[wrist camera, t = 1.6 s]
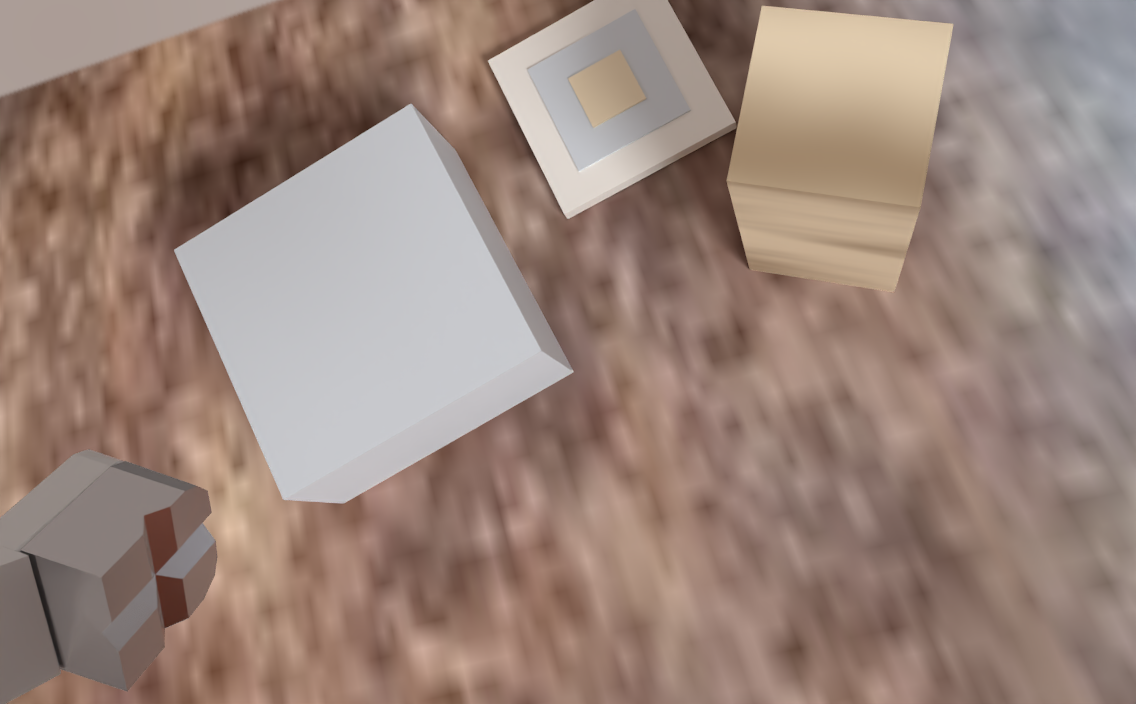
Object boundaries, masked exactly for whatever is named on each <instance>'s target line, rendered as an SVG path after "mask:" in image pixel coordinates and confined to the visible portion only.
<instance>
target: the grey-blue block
mask: <svg viewBox="0 0 1136 704" xmlns="http://www.w3.org/2000/svg"><path fill="white" fill-rule="evenodd" d="M174 252H175V254H176V256H177V258H178V261H179V263H180V265H181V268H182V270H183V272H184V274H185V277H186V279H187V281H188V283H189V286H190V288H191V290H192V293H193V295H194V297H195V299H196V302H197V304H198V306H199V309H200V311H201V313H202V315H203V318H204V320H205V322H206V324H207V327H208V329H209V331H210V334H211V336H212V338H213V340H214V343H215V345H216V347H217V350H218V352H219V354H220V356H221V359H222V361H223V363H224V365H225V368H226V370H227V372H228V375H229V377H230V379H231V381H232V384H233V386H234V388H235V391H236V393H237V395H238V397H239V400H240V402H241V404H242V406H243V409H244V411H245V413H246V416H247V418H248V420H249V422H250V425H251V427H252V429H253V432H254V434H255V436H256V438H257V441H258V443H259V445H260V447H261V450H262V452H263V454H264V457H265V459H266V461H267V463H268V466H269V468H270V470H271V473H272V475H273V477H274V479H275V482H276V484H277V486H278V488H279V491H280V493H281V495H282V498H283V500H296V501H312V502H328V503H345V502H347V501H349V500H351V499H352V498H354V497H356V496H358V495H359V494H361V493H363V492H365V491H366V490H368V489H370V488H372V487H373V486H375V485H377V484H379V483H380V482H382V481H384V480H386V479H387V478H389V477H391V476H393V475H394V474H396V473H398V472H400V471H401V470H403V469H405V468H407V467H408V466H410V465H412V464H414V463H415V462H417V461H419V460H421V459H422V458H424V457H426V456H428V455H429V454H431V453H433V452H435V451H436V450H438V449H440V448H442V447H443V446H445V445H447V444H449V443H450V442H452V441H454V440H456V439H457V438H459V437H461V436H463V435H464V434H466V433H468V432H470V431H471V430H473V429H475V428H477V427H478V426H480V425H482V424H484V423H485V422H487V421H489V420H491V419H492V418H494V417H496V416H498V415H499V414H501V413H503V412H505V411H506V410H508V409H510V408H512V407H513V406H515V405H517V404H519V403H520V402H522V401H524V400H526V399H527V398H529V397H531V396H533V395H534V394H536V393H538V392H540V391H541V390H543V389H545V388H547V387H548V386H550V385H552V384H554V383H555V382H557V381H559V380H561V379H562V378H564V377H566V376H568V375H569V374H571V373H573V370H572V368H571V366H570V364H569V362H568V360H567V358H566V357H565V355H564V353H563V351H562V349H561V347H560V345H559V343H558V342H557V340H556V338H555V336H554V334H553V332H552V330H551V328H550V327H549V325H548V323H547V321H546V319H545V317H544V315H543V313H542V312H541V310H540V308H539V306H538V304H537V302H536V300H535V298H534V297H533V295H532V293H531V291H530V289H529V287H528V285H527V283H526V282H525V280H524V278H523V276H522V274H521V272H520V270H519V268H518V266H517V265H516V263H515V261H514V259H513V257H512V255H511V253H510V251H509V250H508V248H507V246H506V244H505V242H504V240H503V238H502V236H501V235H500V233H499V231H498V229H497V227H496V225H495V223H494V221H493V220H492V218H491V216H490V214H489V212H488V210H487V208H486V206H485V205H484V203H483V201H482V199H481V197H480V195H479V193H478V191H477V190H476V188H475V186H474V184H473V182H472V180H471V178H470V176H469V174H468V173H467V171H466V169H465V167H464V165H463V163H462V161H461V159H460V158H459V156H458V154H457V152H456V150H455V149H454V148H453V147H452V146H451V145H450V144H449V143H448V142H447V141H446V140H445V139H444V138H443V136H442V135H441V134H440V133H439V132H438V131H437V130H436V129H435V128H434V127H433V126H432V125H431V124H430V123H429V122H428V121H427V120H426V119H425V118H424V116H423V115H422V114H421V113H420V112H419V111H418V110H417V109H416V108H415V107H414V106H413V105H412V104H409V105H408V106H406V107H404V108H403V109H401V110H400V111H398V112H396V113H395V114H393V115H391V116H390V117H388V118H387V119H385V120H383V121H382V122H380V123H378V124H377V125H375V126H374V127H372V128H370V129H369V130H367V131H366V132H364V133H362V134H361V135H359V136H357V137H356V138H354V139H353V140H351V141H349V142H348V143H346V144H345V145H343V146H341V147H340V148H338V149H336V150H335V151H333V152H332V153H330V154H328V155H327V156H325V157H323V158H322V159H320V160H319V161H317V162H315V163H314V164H312V165H311V166H309V167H307V168H306V169H304V170H302V171H301V172H299V173H298V174H296V175H294V176H293V177H291V178H290V179H288V180H286V181H285V182H283V183H281V184H280V185H278V186H277V187H275V188H273V189H272V190H270V191H268V192H267V193H265V194H264V195H262V196H260V197H259V198H257V199H256V200H254V201H252V202H251V203H249V204H247V205H246V206H244V207H243V208H241V209H239V210H238V211H236V212H235V213H233V214H231V215H230V216H228V217H226V218H225V219H223V220H222V221H220V222H218V223H217V224H215V225H214V226H212V227H210V228H209V229H207V230H205V231H204V232H202V233H201V234H199V235H197V236H196V237H194V238H192V239H191V240H189V241H188V242H186V243H184V244H183V245H181V246H180V247H178V248H176V249H175V250H174Z"/></svg>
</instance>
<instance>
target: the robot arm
mask: <svg viewBox="0 0 1136 704" xmlns="http://www.w3.org/2000/svg"><path fill="white" fill-rule="evenodd" d="M211 513H212V512H211V506H210V501H209V496H208V491H207V490H205V489H202V488H200V487H198V486H195V485H193V484H190V483H187V482H184V481H181V480H178V479H175V478H172V477H170V476H167V475H164V474H161V473H158V472H155V471H152V470H149V469H147V468H144V467H141V466H138V465H135V464H132V463H129V462H126V461H122V460H119V459H116V458H113V457H111V456H108V455H105V454H102V453H99V452H96V451H93V450H90V449H88V450H85V451H82V452H79V453H76V454H74V455H72V456H71V457H70V458H69V459H68V460H66V461H65V462H64V463H63V464H62V465H61V466H59V467H58V468H57V469H56V470H55V471H54V472H53V473H51V474H50V475H49V476H48V477H47V478H46V479H44V480H43V481H42V482H41V483H40V484H39V485H37V486H36V487H35V488H34V489H33V490H32V491H31V492H29V493H28V494H27V495H26V496H25V497H24V498H22V499H21V500H20V501H19V502H18V503H17V504H16V505H14V506H13V507H12V508H11V509H10V510H9V511H7V512H6V513H5V514H4V515H3V516H2V517H1V518H0V704H6V703H8V702H9V701H11V700H13V699H15V698H17V697H19V696H21V695H22V694H24V693H26V692H28V691H30V690H32V689H34V688H35V687H37V686H39V685H41V684H43V683H45V682H47V681H48V680H50V679H52V678H54V677H56V676H58V675H60V674H61V670H60V669H62V670H65V671H68V672H71V673H74V674H77V675H80V676H83V677H86V678H89V679H92V680H95V681H98V682H100V683H103V684H106V685H109V686H112V687H115V688H118V689H121V690H124V691H128V690H129V689H130V688H131V687H132V685H133V684H134V683H135V682H136V681H137V679H138V678H139V677H140V676H141V675H142V673H143V672H144V671H145V670H146V669H147V668H148V666H149V665H150V664H151V663H152V662H153V660H154V659H155V658H156V657H157V656H158V654H159V653H160V652H161V651H162V650H163V648H164V647H165V628H167V627H169V626H172V625H174V624H176V623H179V622H181V621H183V620H186V619H188V618H189V617H190V616H191V615H192V613H193V612H194V611H195V610H196V608H197V607H198V606H199V605H200V603H201V602H202V601H203V600H204V598H205V596H206V593H207V591H208V589H209V587H210V585H211V582H212V580H213V578H214V576H215V570H216V563H217V549H216V541H215V539H214V538H213V537H212V535H211V534H210V533H209V531H208V530H207V529H206V527H205V526H204V525H203V522H204V520H205V519H206V518H207V517H208V516H209V515H210V514H211Z"/></svg>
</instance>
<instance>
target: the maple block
mask: <svg viewBox="0 0 1136 704" xmlns="http://www.w3.org/2000/svg"><path fill="white" fill-rule="evenodd" d="M952 30H953V24H949V23H938V22H928V21H917V20H907V19H896V18H886V17H875V16H865V15H854V14H844V13H833V12H823V11H812V10H802V9H791V8H781V7H770V6H762V8H761V13H760V18H759V23H758V28H757V33H756V38H755V43H754V48H753V53H752V57H751V62H750V67H749V72H748V77H747V82H746V87H745V92H744V97H743V102H742V107H741V112H740V117H739V122H738V126H737V131H736V136H735V141H734V146H733V151H732V156H731V161H730V166H729V171H728V176H727V185H728V189H729V192H730V196H731V200H732V204H733V208H734V211H735V215H736V219H737V223H738V227H739V230H740V234H741V238H742V242H743V246H744V250H745V253H746V257H747V261H748V265H749V269H750V270H755V271H762V272H768V273H774V274H781V275H787V276H793V277H800V278H806V279H812V280H819V281H825V282H831V283H838V284H844V285H850V286H857V287H863V288H869V289H876V290H882V291H888V292H894V291H895V288H896V285H897V282H898V279H899V275H900V272H901V269H902V266H903V262H904V259H905V256H906V253H907V249H908V246H909V243H910V240H911V236H912V233H913V230H914V227H915V223H916V220H917V217H918V214H919V211H920V207H921V202H922V196H923V191H924V185H925V179H926V174H927V168H928V163H929V157H930V152H931V146H932V141H933V135H934V130H935V124H936V118H937V113H938V107H939V102H940V96H941V91H942V85H943V80H944V74H945V69H946V63H947V57H948V52H949V46H950V41H951V35H952Z"/></svg>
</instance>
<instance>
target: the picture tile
mask: <svg viewBox="0 0 1136 704" xmlns="http://www.w3.org/2000/svg"><path fill="white" fill-rule="evenodd" d="M488 62H489V64H490V66H491V68H492V70H493V72H494V74H495V76H496V78H497V80H498V82H499V84H500V86H501V88H502V90H503V92H504V94H505V96H506V98H507V100H508V102H509V105H510V107H511V109H512V111H513V113H514V115H515V117H516V119H517V121H518V123H519V125H520V127H521V129H522V131H523V133H524V135H525V137H526V139H527V141H528V143H529V145H530V147H531V149H532V151H533V153H534V155H535V157H536V159H537V161H538V163H539V165H540V167H541V169H542V171H543V173H544V175H545V177H546V179H547V181H548V183H549V185H550V187H551V189H552V191H553V193H554V195H555V197H556V199H557V201H558V203H559V205H560V207H561V209H562V211H563V213H564V215H565V216H566V217H567V219H569V218H571V217H573V216H575V215H576V214H578V213H580V212H582V211H584V210H586V209H588V208H589V207H591V206H593V205H595V204H597V203H599V202H601V201H602V200H604V199H606V198H608V197H610V196H612V195H613V194H615V193H617V192H619V191H621V190H623V189H625V188H626V187H628V186H630V185H632V184H634V183H636V182H638V181H639V180H641V179H643V178H645V177H647V176H649V175H651V174H652V173H654V172H656V171H658V170H660V169H662V168H663V167H665V166H667V165H669V164H671V163H673V162H675V161H676V160H678V159H680V158H682V157H684V156H686V155H688V154H689V153H691V152H693V151H695V150H697V149H699V148H701V147H702V146H704V145H706V144H708V143H710V142H712V141H713V140H715V139H717V138H719V137H721V136H723V135H725V134H726V133H728V132H730V131H732V130H734V129H736V128H737V126H736V122H735V120H734V118H733V116H732V114H731V113H730V111H729V109H728V107H727V105H726V104H725V102H724V100H723V98H722V97H721V95H720V93H719V91H718V89H717V88H716V86H715V84H714V82H713V80H712V79H711V77H710V75H709V73H708V71H707V70H706V68H705V66H704V64H703V63H702V61H701V59H700V57H699V55H698V54H697V52H696V50H695V48H694V46H693V45H692V43H691V41H690V39H689V37H688V36H687V34H686V32H685V30H684V29H683V27H682V25H681V23H680V21H679V20H678V18H677V16H676V14H675V12H674V11H673V9H672V7H671V5H670V3H669V2H668V0H594V1H592V2H590V3H589V4H587V5H585V6H583V7H582V8H580V9H578V10H576V11H575V12H573V13H571V14H569V15H567V16H566V17H564V18H562V19H560V20H559V21H557V22H555V23H553V24H552V25H550V26H548V27H546V28H545V29H543V30H541V31H539V32H538V33H536V34H534V35H532V36H530V37H529V38H527V39H525V40H523V41H522V42H520V43H518V44H516V45H515V46H513V47H511V48H509V49H508V50H506V51H504V52H502V53H501V54H499V55H497V56H495V57H493V58H492V59H490V60H488Z"/></svg>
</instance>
